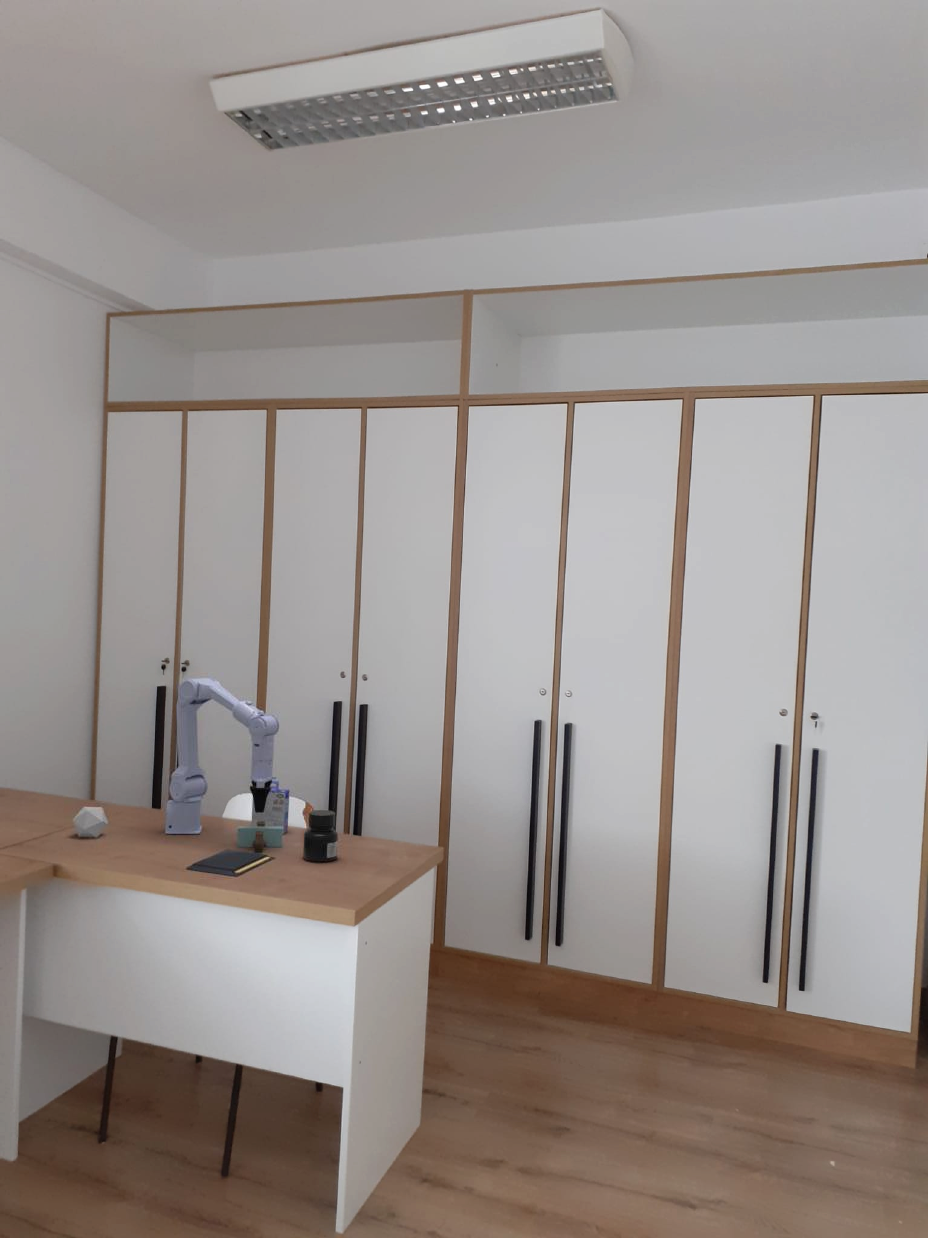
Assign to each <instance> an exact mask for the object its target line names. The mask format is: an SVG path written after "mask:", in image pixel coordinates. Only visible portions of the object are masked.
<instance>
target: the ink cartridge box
mask: <svg viewBox="0 0 928 1238" xmlns="http://www.w3.org/2000/svg"><path fill="white" fill-rule="evenodd" d="M271 784H273V785H270V787H271V790H270V792H269V794H268V796H267V799H266V804H265V809H264V812H263V813H256V812H255V807H254V799H253V798H252V803H251V804H252V805H251V823H250V824H251V825H250V826H257V823H258V821H265V826H280V827H283V835H284V834H285V833H287V832H288V831H289V830H288V829H289V811H290V809H289V807H290V789H285V788H283V789H282V788H279V785H280V781H278V780H277V781H275V780H274V781H273V780H272V783H271ZM274 785H275V786H274Z"/></svg>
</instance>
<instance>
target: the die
mask: <svg viewBox="0 0 928 1238" xmlns="http://www.w3.org/2000/svg"><path fill="white" fill-rule="evenodd" d="M72 822H73V825H74V828H75V831H76V833H77V836H78V838H94V839H95V838H98V837H99V836H100V835H101V834H102V833H103V832H104V831H105V829H106V828H107V827H108V826H109V822H108V819H107V817H106V813H105V811H104V808H103V807H97V806H83V807H82V808H81V809H80V811H79V812H78V813H77V814H76V816H74V818H73V819H72Z"/></svg>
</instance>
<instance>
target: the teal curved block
mask: <svg viewBox="0 0 928 1238" xmlns="http://www.w3.org/2000/svg"><path fill="white" fill-rule="evenodd" d="M256 831H264V835H263V840H264V841H265V843H266V845H265V847H266V848H282V847H283V835H284V834H283V827H280V826H251V825H249V826H248V825H246V826H245V825H244V826H243V825H240V826H239V825H238V826H237V833H236V835H237V836H236V848H237V847H238V848H239V847H240V848H253V847H254V841H255V836H256Z"/></svg>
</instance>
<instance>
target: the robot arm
mask: <svg viewBox="0 0 928 1238" xmlns="http://www.w3.org/2000/svg"><path fill="white" fill-rule="evenodd" d="M177 696H178V697H177V702H176V730H177V731H176V732H177V749H178V750H177V756H178V757H177V759H178V767H177V768H176V769H175V770H174V771H173V772H172V774H171V776H170V777H171V781H170V784H169V787H168V788H169V790H168V791H169V794H170V797H171V799H169V800H168V801H167V802H166V803H167V804H166V809H165V811H166V812H165V821H164V823H165V825H164V826H165V830H164V834H166V835H173V834H174V835H175V834H176V835H200V834H201V831H202V830H203V825H201V814H202V813H201V812H202V811H201V810H202V808H201V807H202V800H203V799H204V796H205V794H206V793H207V791H208V787H209V786H208V780H207V779H206V773H205V772H206V771H205V769H204V768H202V767H201V766H200V765H199V746H198V745H199V741H198V737H199V736H198V717H197V716H198V714H197V711H198V710H199V709H200V708H201V707H202V706H203V704H206V703H208V702H210V701H211V700H213V701H214V702H216V703H218V704H219V705H221V706H223V707H224V708H226V709H227V710H229V711H231V712H232V713H231V714H232V718H234V719H235V720H236V721H238V722H239V723H240V724H241V725H243V726H244V727H246V728H247V729H248V732H249V735H250V737H251V743H252V747H251V748H252V749H251V769H250V775H249V779H250V780H251V785H249V790H250V792H251V795H252V800H253V799H254V807H255V812H256V813H263V812H264V809H265V804H266V799H267V796H268V794H269V792H270V790H271V787H270V786H272V784H273V783H272V781H273V780H276V779H277V775H273V769H274V768H273V767H274V750H275V749H274V747H275V746H274V745H275V735H277V734H278V732H279V729H280V723H279V720H278V718H277V717H276V716H275V715H274V714H266V713H265V712H264V710H260V709H258V708H257V707H255V706H254V705H253V702H252V701H250V700H242V701H240V700H239V699H238V698H236V697H235V696H234V695H233V694H232V693H230V692H229V691H228V690H227V689H226V688H224V687H223V686H222V685H221V682H220V681H218V680H216V679H215V678H214V677H202V678H185V679H184V680H183V681H181V683H180V684H179V685H178V686H177Z"/></svg>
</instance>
